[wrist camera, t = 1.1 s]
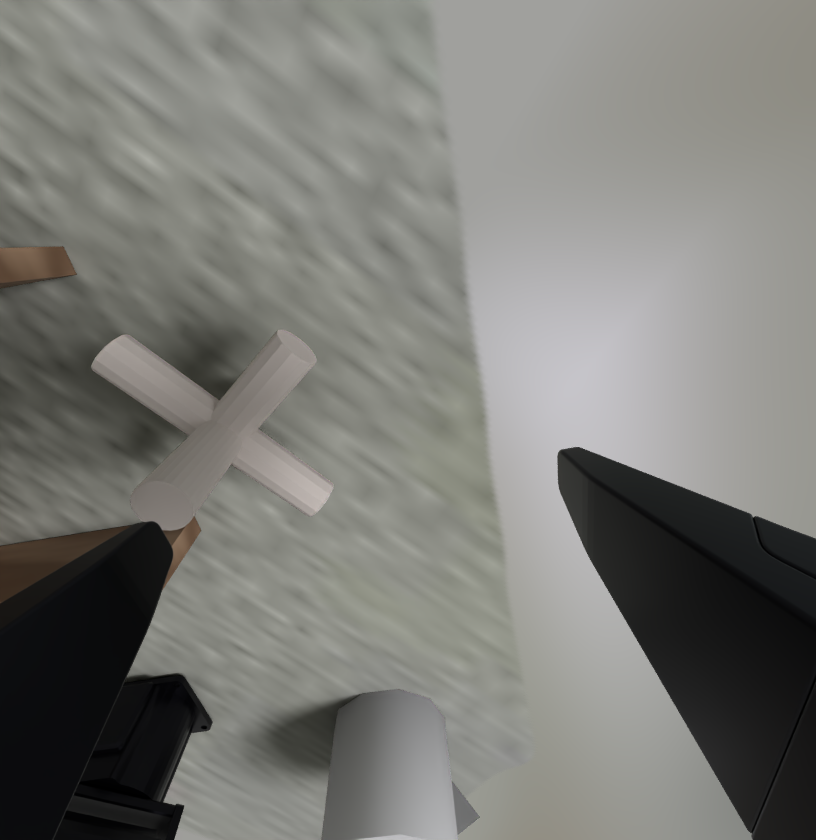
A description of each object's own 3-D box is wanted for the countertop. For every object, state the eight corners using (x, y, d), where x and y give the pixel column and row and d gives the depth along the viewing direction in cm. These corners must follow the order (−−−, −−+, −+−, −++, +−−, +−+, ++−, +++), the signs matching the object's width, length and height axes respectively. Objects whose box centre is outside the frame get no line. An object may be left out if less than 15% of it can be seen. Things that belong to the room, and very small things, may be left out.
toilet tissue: (447, 771, 37) (462, 912, 30) (316, 738, 34) (294, 885, 27) (501, 719, 34) (533, 861, 26) (361, 677, 31) (351, 824, 23)
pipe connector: (125, 395, 21) (-79, 516, 12) (233, 245, 18) (74, 252, 9) (282, 500, 24) (215, 660, 15) (394, 386, 21) (396, 497, 12)
